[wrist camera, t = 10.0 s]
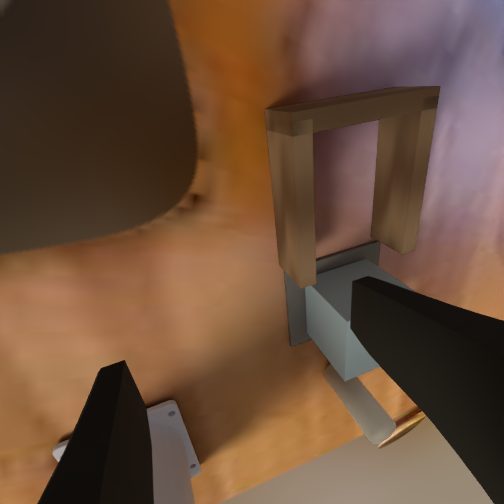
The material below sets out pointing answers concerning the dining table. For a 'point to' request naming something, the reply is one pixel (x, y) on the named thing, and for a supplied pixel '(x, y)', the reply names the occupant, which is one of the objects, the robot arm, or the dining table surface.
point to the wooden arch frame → (386, 177)
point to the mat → (296, 294)
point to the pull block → (347, 344)
